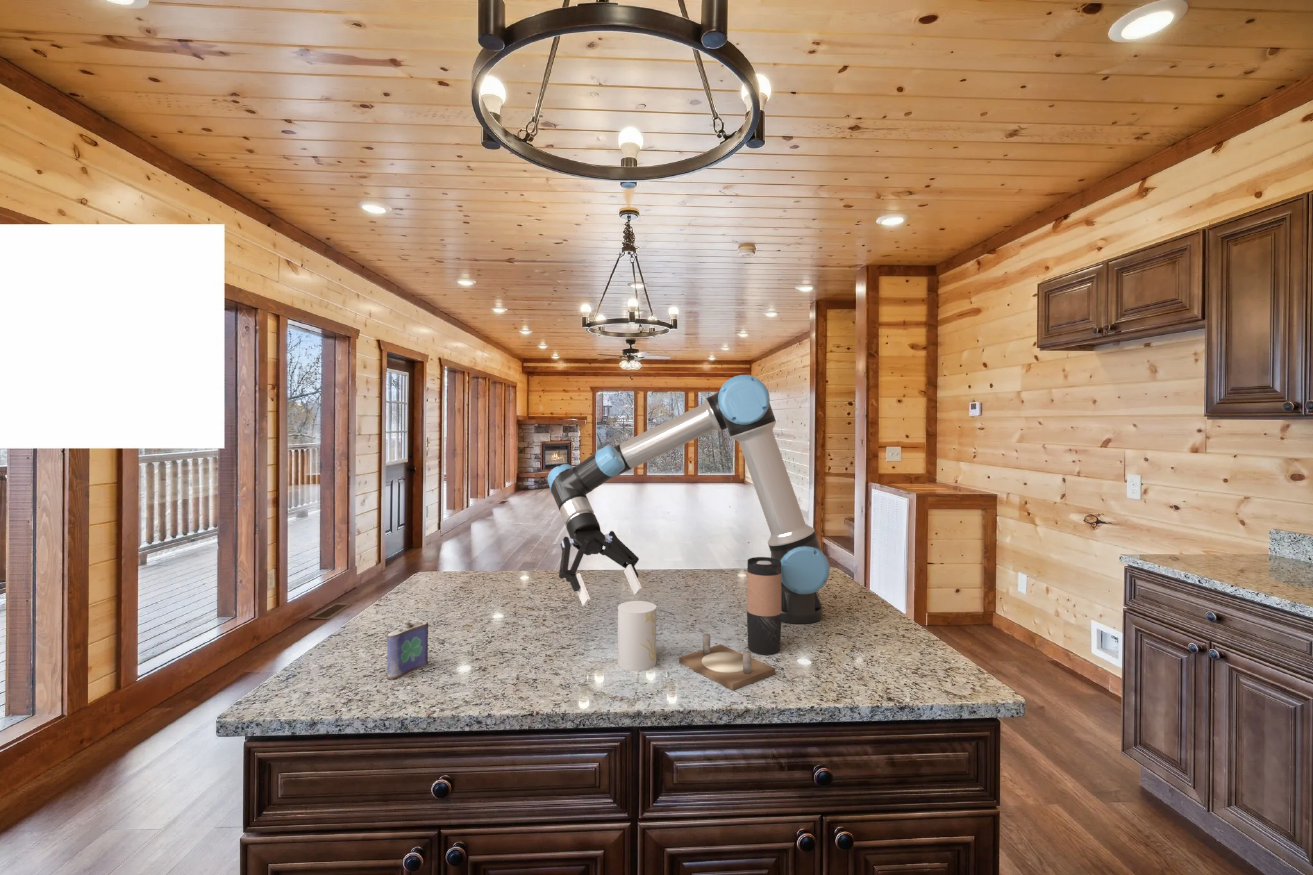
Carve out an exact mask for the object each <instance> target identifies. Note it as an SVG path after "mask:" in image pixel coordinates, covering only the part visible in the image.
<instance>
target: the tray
mask: <svg viewBox="0 0 1313 875" xmlns="http://www.w3.org/2000/svg"><path fill="white" fill-rule="evenodd" d="M680 663H681V665H682V666H684V665H685V666H684V667H685V668H688V667H689V668H688V669H690V670H692V671H694V672H696V673H698V674H699V675H701V676H704V677H706V678H708V679H709V680H711V681H713V682H715V683H718V684H719V685H721V686H722V687H725V688H726V689H729V690H730V691H731V692H732V691H735V690H738V689H740V688H742V687H745V686H747V685H751V684H753V683H755V682H758V681H761V680H764V679H766V678H769V677H771V676H774V675H775V674H776V668H775V667H774V666H771V665H769V664H766V663H764V662H762V661H760V660H757V659H756V658H754V657H752V652H751V651H750V650H745V651H743V652H742V653H741V652H739V651H737V650H734V649H732V648H729V647H727V646H725V645H723V644H717V645H714V646H711V634H709V633H703V634H702V649H701V650H698V651H695V652H691V653H688V654H685V655H682V656H679V657H678V664H680Z"/></svg>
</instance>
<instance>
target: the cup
mask: <svg viewBox="0 0 1313 875" xmlns="http://www.w3.org/2000/svg"><path fill="white" fill-rule="evenodd" d="M617 665H619V666H618V667H619V668H620V669H622V670H625V671H628V670H629V672H642V671H641V670H645V671H649V670H651V669H653V668H655V667H654V666H657V605H656V604H655V603H653V602H650V601H645V600H632V601H631V600H630V601H625V602H622V603H620V604H619V605H618V606H617ZM652 667H653V668H652ZM650 668H651V669H650ZM648 669H649V670H648Z"/></svg>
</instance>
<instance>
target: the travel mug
mask: <svg viewBox="0 0 1313 875" xmlns="http://www.w3.org/2000/svg"><path fill="white" fill-rule="evenodd" d="M746 565H747V569H746V570H747V571H746V572H747V578H746V580H747V581H746V622H747V624H746V625H747V626H746V627H747V628H746V629H747V649H748V651H750V652H751V653H752V654H756V655H759V656H773V655H776V654H778V653H780V651H781V636H782V633H781V632H782V622H781V612H782V611H781V561H780V560H778V559H775V558H771V556H770V557H768V556H767V557H766V556H756V557H750V558H748V559H747V564H746Z"/></svg>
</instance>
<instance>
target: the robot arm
mask: <svg viewBox="0 0 1313 875" xmlns="http://www.w3.org/2000/svg"><path fill="white" fill-rule="evenodd" d="M770 400H771V398H770V393H769V390H768V388H767V386H766V384H764V383H763V382H762V380H760V379H759V378H757V377H755V376H753V375H749V374H739V375H734V376H733V377H731V378H728V379H727V380H726V381H725V382H724V383H723V384H722V385H721V387H720V389H719V391H717V392H716V393H714V394H712V395H710V396H708V397H706V398H705V399H704V402H703V403H702V404H700V405H699V406H696V407H693V408H691V409H690V410H688V411H685V412H684V413H681V414H679V415H678V416H675V417H674V418H671V419H669V420H667V421H665V422H663V423H661V424H659V425H656V426H655V427H652V428H650V429H649V430H646V431H644V432H641V433H640V434H638V435H636V436H634V437H631V438H629V439H627V440H625V441H623V442H621V443H619V444H617V445H615V446H613V445H611V444H607V445H606V446H603V447H602V448H600V449H598V450H597V451H596V452H594V453H593V454H590V456H588V457H587V458H586V459H584V460H583V461H581V462H579V463H578V464H577V465H574V466H573V465H571V464H568V463H567V464H565V463H564V464H561V465H559V466H554V468H552V469H551V470H550V471H549V473H548V475H547V482H548V486H549V488H550V493H551V494H552V496H553V498H554V501H555V504H556V506H557V508H558V510H559V513H560V515H561V518H562V521H563V522H564V525H565V527H566V531H567V533H568V535H569V536H564V537H563V539H562V541H561V542H560V548H561V556H560V564H559V572H558V578H560V579H565V581H566V582H568V583H570V586H571V588H572V590H573V591H574V592H575V593H576V592H577V596H578V598H579V600H580V602H581V605H582V607H586V606H587V605H588V603H589V602H590V601H591V597H590V595H589V592H588V590H587V588H586V584H585V583H584V579H583V577H582V575H581V573H580V572H579V573H577V571H578V569H579V566H580V564H581V561H582V559H583V556H584V555H586V556H591V555H598V554H600V555H602V556H606V557H607V558H609V559H610V560H611V561H613V562H614V563H616V564H618V565H619V566H620V567H622V568H624V570H623V572H624V575H625V577H626V580H627V581H628V582H627V583H628V584H629V585H630V588H631V591H632V592H633V595H634V596H637V595H638V594H640V592H641V591H642V589H643V587H642V585H641V583H640V581H639V579H638V578H639V574H638V571H637V569H636V567H635V566H636V565H637V563H638V562H639V560H640V559H639V557H638V556H637V555H636V554H635V553H634V552H633V551H632V550H631V549H630V548H629V547H628V546H627V545H626V544H624V543H623V541H622V540H621V539H619V538H618V537H617V535H616V533H615V531H614V530H610V531H609V533H606V534H604V533H603V532H602V531H601V525H600V523H599V520H598V518H597V516H596V515H595V512H594V509H593V507H592V505H591V503H590V501H589V499H588V497H587V494H590V493H591V492H592V491H594V490H595V489H598V487H600V486H601V485H603V484H605V483H606V482H608V481H610V480H612V479H614V478H615V477H616V478H617V477H618V476H620V475H621V474H624V473H627V472H628V471H631V470H632V469H634V468H636V467H639V466H641V465H643V464H645V463H647V462H649V461H651V460H654V459H656V458H658V457H660V456H662V455H664V454H666V453H668V452H671V451H673V450H675V449H677V448H679V447H682V446H684V445H685V444H687V443H690V442H692V441H694V440H697V439H698V438H701V437H702V436H704V435H708V434H709V433H711V432H714V431H719V432H722V431H723V430H726V429H727V431H728V434H729V437H730V438H731V439H733V440H735V441H737V443H738V444H739V446H740V450H741V453H742V455H743V458H744V460H745V464H746V466H747V469H748V472H749V473H748V474H749V475H750V478H751V482H752V484H753V487H754V490H755V492H756V495H757V499H758V501H759V503H760V506H761V509H762V512H763V515H764V518H765V521H766V524H767V526H768V530H769V533H770V536H769V538H768V541H767V544H768V548H769V551H770V558H775V559H778V560H780V561H781V611H782V612H781V623H785V624H786V623H788V624H811V623H816V622H819V621H820V620H822V618H823V606H822V603H821V600H820V597H819V593H818V591H819V590H821V589H822V588H823V587H824V586H825V585H826V583H827V581H828V579H829V576H830V563H829V560H828V557H827V556H826V554H824V553H823V550H822V547H821V545H820V542H819V539H818V537H817V532H816V531H815V528H814V527H813V526H810V525H808V524H807V523H806V521H805V519H804V515H803V514H802V513H803V512H802V511H801V507H800V505H799V501H798V499H797V496H796V493H795V491H794V487H793V485H792V482H791V479H790V476H789V472H788V471H787V467H786V465H785V462H784V459H783V456H782V453H781V451H780V448H779V445H778V442H777V440H776V436H775V434H774V427H775V425H776V424H777V421H776V418H775V415H774V411H773V409H772V405H771V403H770ZM569 537H570V538H569ZM572 546H573V547H574V548H575V549H577V552H576V555H575V558H574V560H573V562H572V564H571V567H570V569H569V565H570V564H569V563H570V562H569V561H570V554H571V548H572Z"/></svg>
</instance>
